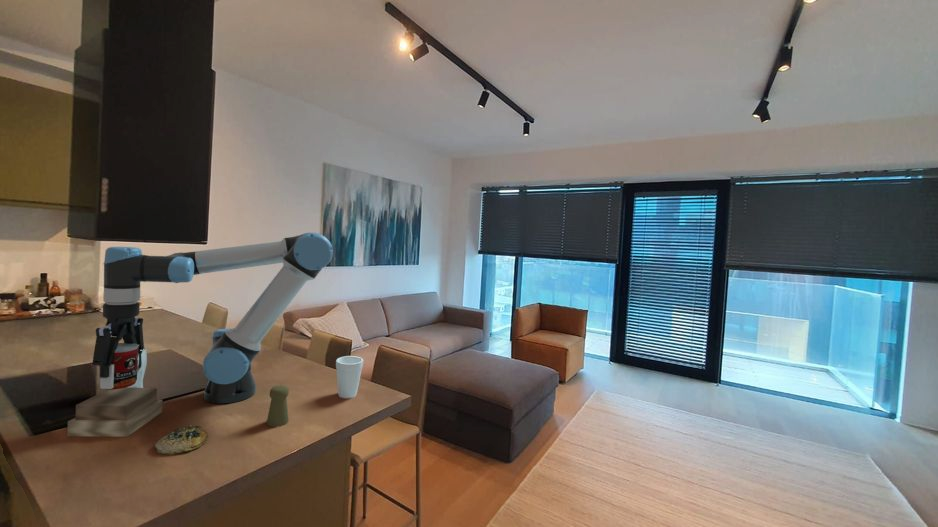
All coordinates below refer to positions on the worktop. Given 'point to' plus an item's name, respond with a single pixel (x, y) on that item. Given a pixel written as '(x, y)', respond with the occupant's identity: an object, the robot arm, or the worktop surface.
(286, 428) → the worktop surface
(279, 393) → the green pawn
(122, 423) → the stack of wooden planks
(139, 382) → the beer glass
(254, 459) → the worktop surface
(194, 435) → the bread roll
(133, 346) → the canned food
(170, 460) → the worktop surface
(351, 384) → the foam cup
